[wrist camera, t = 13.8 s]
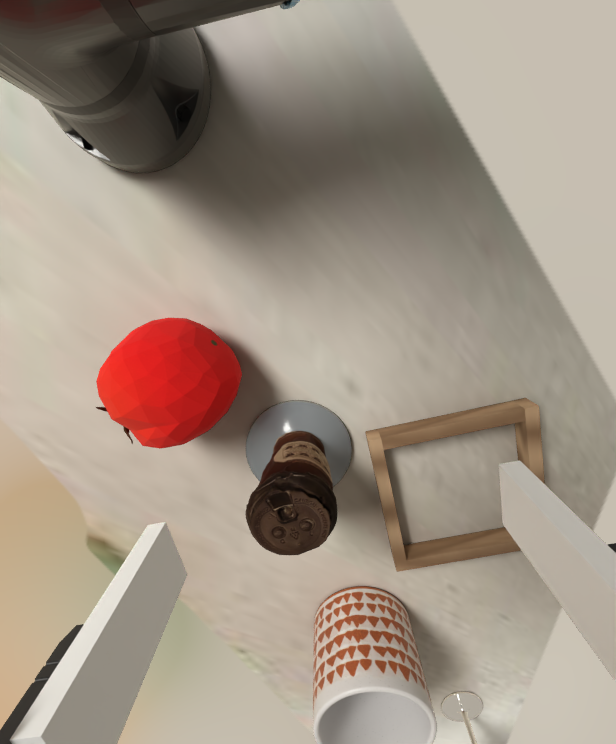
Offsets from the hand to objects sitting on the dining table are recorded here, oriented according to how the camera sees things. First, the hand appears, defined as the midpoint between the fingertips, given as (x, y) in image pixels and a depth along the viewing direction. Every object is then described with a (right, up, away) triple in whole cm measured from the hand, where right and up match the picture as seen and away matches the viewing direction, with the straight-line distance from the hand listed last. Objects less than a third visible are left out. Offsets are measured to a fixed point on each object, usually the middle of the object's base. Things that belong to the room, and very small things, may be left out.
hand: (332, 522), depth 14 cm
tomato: (-15, +6, +27) cm, 32 cm away
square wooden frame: (+18, -8, +30) cm, 36 cm away
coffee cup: (-2, -4, +29) cm, 29 cm away
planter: (+7, -30, +37) cm, 48 cm away
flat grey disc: (-2, -4, +29) cm, 30 cm away
